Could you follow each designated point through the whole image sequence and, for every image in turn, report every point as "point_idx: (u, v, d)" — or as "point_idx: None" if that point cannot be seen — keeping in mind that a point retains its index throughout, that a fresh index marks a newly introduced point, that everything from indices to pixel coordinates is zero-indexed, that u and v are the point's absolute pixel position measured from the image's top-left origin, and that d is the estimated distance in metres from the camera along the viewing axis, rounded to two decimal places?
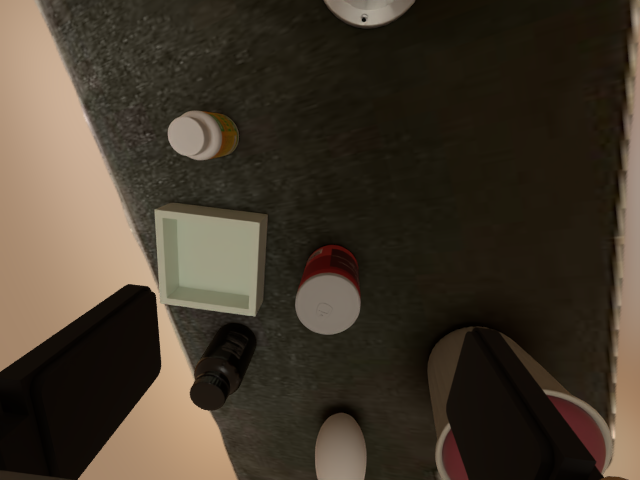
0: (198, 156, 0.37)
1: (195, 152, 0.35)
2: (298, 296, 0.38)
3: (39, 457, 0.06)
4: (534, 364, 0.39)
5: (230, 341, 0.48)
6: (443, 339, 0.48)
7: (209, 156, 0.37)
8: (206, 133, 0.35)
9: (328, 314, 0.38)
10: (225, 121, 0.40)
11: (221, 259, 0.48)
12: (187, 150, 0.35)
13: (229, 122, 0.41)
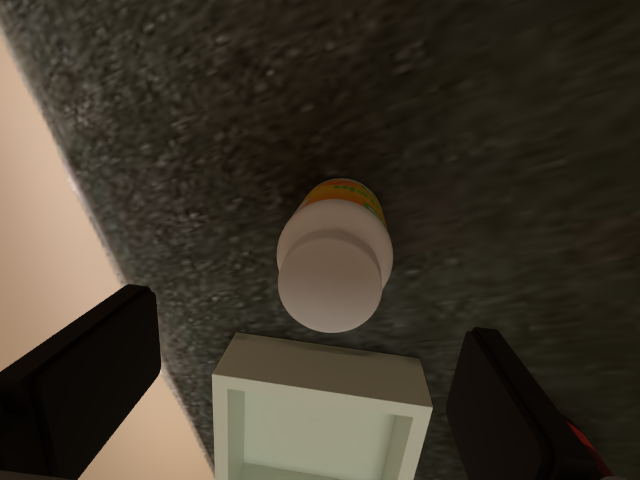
0: None
1: (351, 326, 0.13)
2: None
3: (39, 457, 0.06)
4: None
5: None
6: None
7: None
8: None
9: None
10: (377, 206, 0.17)
11: (323, 429, 0.27)
12: (328, 321, 0.13)
13: (377, 203, 0.19)
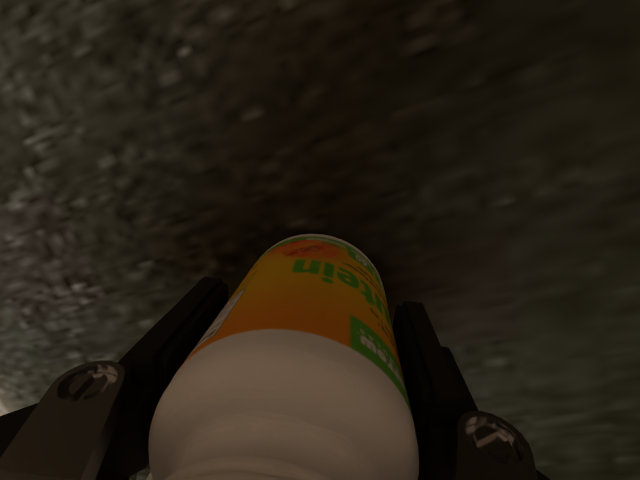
0: None
1: None
2: None
3: None
4: None
5: None
6: None
7: None
8: None
9: None
10: (377, 301, 0.09)
11: None
12: None
13: (376, 285, 0.10)
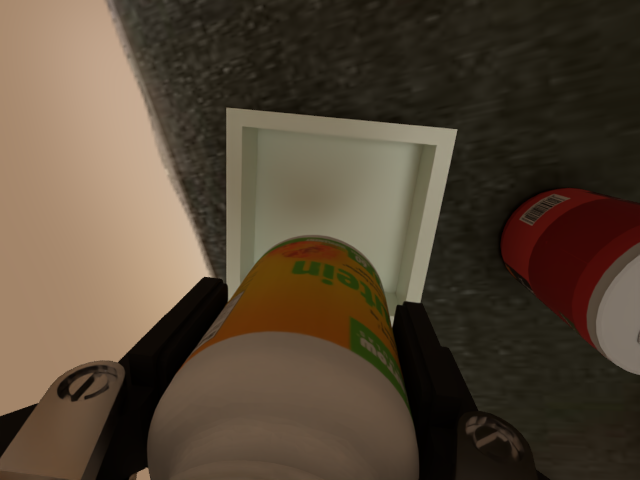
0: None
1: None
2: (615, 286, 0.15)
3: None
4: None
5: None
6: None
7: None
8: None
9: None
10: (377, 302, 0.09)
11: (337, 223, 0.26)
12: None
13: (376, 286, 0.10)
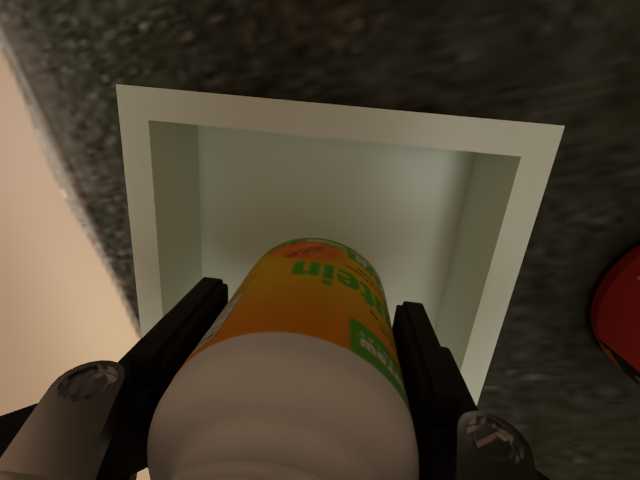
0: None
1: None
2: None
3: None
4: None
5: None
6: None
7: None
8: None
9: None
10: (377, 302, 0.09)
11: None
12: None
13: (376, 286, 0.10)
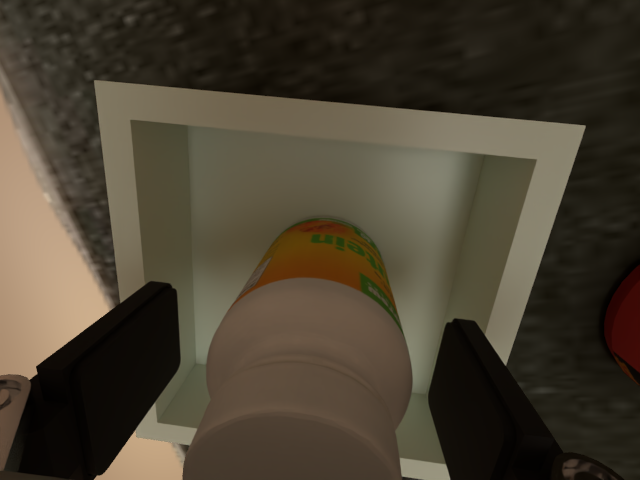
0: None
1: None
2: None
3: (76, 444, 0.07)
4: None
5: None
6: None
7: None
8: (397, 452, 0.06)
9: None
10: (379, 268, 0.11)
11: None
12: None
13: (378, 257, 0.12)
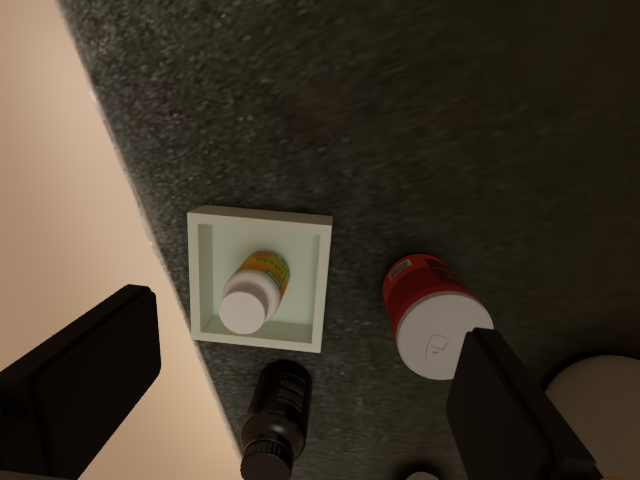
0: None
1: (253, 330, 0.28)
2: (403, 326, 0.26)
3: (39, 457, 0.06)
4: None
5: (285, 388, 0.36)
6: (566, 374, 0.36)
7: (265, 321, 0.30)
8: (266, 306, 0.28)
9: (444, 351, 0.27)
10: (279, 268, 0.33)
11: None
12: (242, 328, 0.28)
13: (282, 265, 0.34)
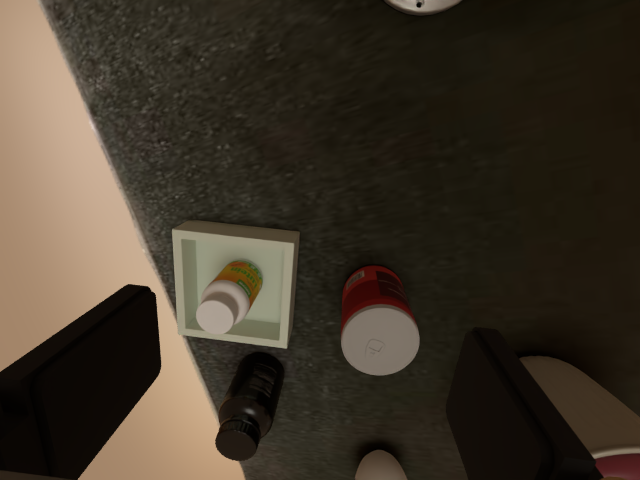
0: None
1: (224, 332, 0.34)
2: (345, 332, 0.32)
3: (39, 457, 0.06)
4: (623, 407, 0.33)
5: (258, 376, 0.42)
6: None
7: (236, 323, 0.36)
8: (235, 312, 0.34)
9: (380, 352, 0.33)
10: (251, 277, 0.39)
11: None
12: (215, 330, 0.34)
13: (254, 274, 0.40)
